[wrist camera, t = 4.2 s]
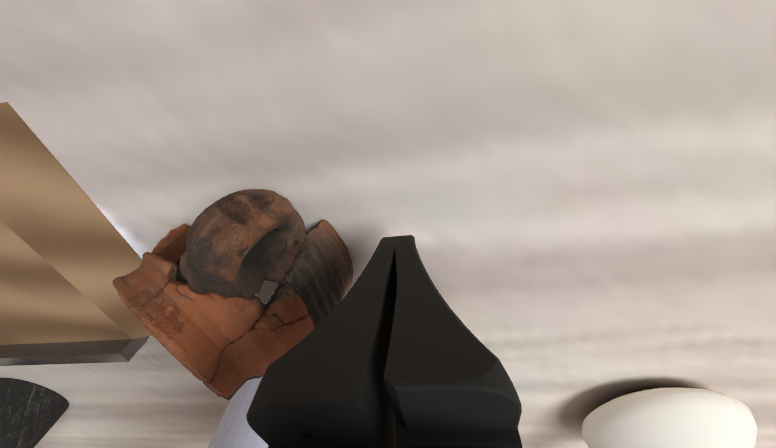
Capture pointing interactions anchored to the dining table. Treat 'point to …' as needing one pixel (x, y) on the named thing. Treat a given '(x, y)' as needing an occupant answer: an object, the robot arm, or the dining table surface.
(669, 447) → the flower in vase
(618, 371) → the dining table surface
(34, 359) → the curbs
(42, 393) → the travel mug
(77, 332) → the brown flat board
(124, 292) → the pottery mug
